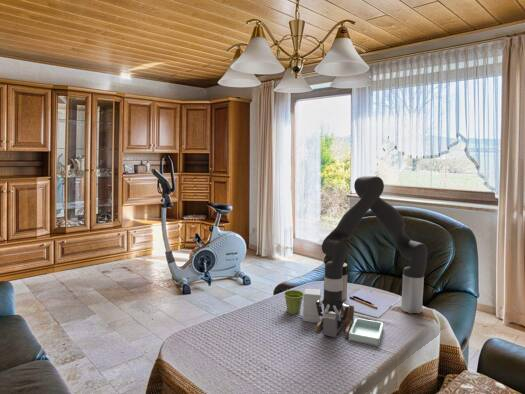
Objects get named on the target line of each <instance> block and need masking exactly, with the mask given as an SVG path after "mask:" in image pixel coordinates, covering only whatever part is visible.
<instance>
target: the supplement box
mask: <svg viewBox="0 0 525 394" xmlns="http://www.w3.org/2000/svg"><path fill="white" fill-rule="evenodd" d="M303 293H304V296H303V312H302V313H303V315H302V316H303V317H302V321H303V322H311V323H318V322H319V321H320V319H321V318H320V317H321V316H319V315H318V311H317V306H316V302H317V301H318V300H320V301H322V300H321V299H322V298H321V296H322V295H321V293H322V292H321V289H320V288H319V289H316V288H304V292H303Z"/></svg>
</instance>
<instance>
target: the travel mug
mask: <svg viewBox="0 0 525 394" xmlns="http://www.w3.org/2000/svg"><path fill="white" fill-rule="evenodd" d="M347 267H348V263H346V262H344V265H343V268H342V281H343V290H342V301H346V300H347V299H348V298H347V297H348V272H349V271H348V268H347Z"/></svg>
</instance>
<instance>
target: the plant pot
mask: <svg viewBox="0 0 525 394" xmlns="http://www.w3.org/2000/svg"><path fill="white" fill-rule="evenodd" d="M283 295H284V298H285V305H286V311H287V313H289V314H299V313H301V307H302V302H303V299H304V292H303V291H300V290H297V289H296V290H295V289H290V290H289V289H287V291H284V292H283Z"/></svg>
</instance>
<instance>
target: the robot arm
mask: <svg viewBox="0 0 525 394" xmlns="http://www.w3.org/2000/svg"><path fill="white" fill-rule="evenodd" d="M384 184H385V183H384V180H383V179H382V178H381V177H380V176H375V175H368V176H367V175H366V176H359V177H358V178H357V179H355V181H354V183H353V187H354V190H355V194H356V195H357V196H358V198H360V199H359V200H358V202H356V203H355V204H354V205H353V206H352V207H350V208H349V209H348V210H347V211H346V212H345V213H344V214H343V216H342V217H341V218H340V220H339V221H338V224H337V225H336V227H335V228H334V229H333V230H331V232H330V233H329V234H328V235H327V236H326V237H325V238H324V240H323V241H322V243H321V251H322V253H323V254H324V255H326V256H329V257H332V258H333V259H332V261H331V260H330V261H327V262H326V263H325V266H324V279H323V299H322V300H318V301H317V302H316V306H317V311H318V315H319V316H320V317H321V318H322V317H323V318H324V316H325V315H326V314H327V312H328V311H329V312H334V313H336V316H338V329H339V330H340V329H341V328H342V325H343V324H342V320H345V319H346V317H347V314H348V311H349V307H350V305H351V304H348V305H345V304H346V303H344V302H343V300H342V290H343V281H342V268H343V265H344V263H346V262H345V261H346V258H347V254H348V246H347V243H346V242H344V241H343V240H349V239H351V237H352V236H353V234H354V232H355V231H356V228H357V227H358V226H359V224H360V222H361V221H362V219H363V218H364V217H365V215H366V214H367V213H368V212H369V210H370V211H371V212H372V213H373V215H374V216H375V217H376V219H377V221H378V222H379V223H380V224H381V226H382V228H383V229H384V230H385V231H386V233H387V234H388V236H389V237H390V238H391V240H392V241H393V243H394V244H395V246H396V248H397V250H398V252H399V253H400V255H401V257H403V258H404V259H405V260H408V261H411V262H410V266H405V267H403V269H402V285H401V286H402V290H401V306H400V307H401V310H402V311H403V312H404V313H407V312H408V314H412V313H418V314H420V313H419V312H421V311H422V312H423V299H424V298H423V297H424V284H425V283H424V281H425V280H424V279H425V272H426V270H427V265H428V264H427V263H428V254H429V251H428V247H427V245H426V244H424V243H422V242H419V241H415V240H412V239H411V238H410V237H409V236H408V235H407V233H406V232H405V228H406V227H405V226H406V225H405V224H406V223H405V220H404V219H403V216H402V215H401V214H400V213H399V211H398V210H397V209H396V207H394V206H393V205H391V204H390V203H388V202H387V201H385V200H384V199H382V197H381V195H382V193H383V192H384V187H385V185H384ZM322 305H323V307H324V306H325V308H326V309H325V311H324V310H323V308H322ZM342 307H343V309H344V310H345V312H344V315H343V316H342V315H341V311H340V309H341V308H342ZM422 312H421V313H422Z"/></svg>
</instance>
